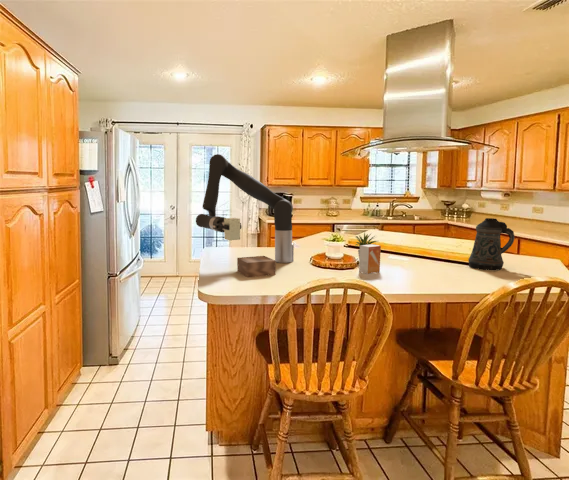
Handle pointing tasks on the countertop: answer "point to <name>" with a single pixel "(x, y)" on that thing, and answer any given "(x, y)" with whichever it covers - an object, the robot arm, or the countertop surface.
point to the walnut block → (256, 266)
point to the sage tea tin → (232, 229)
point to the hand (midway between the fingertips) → (234, 227)
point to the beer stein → (489, 245)
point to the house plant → (364, 242)
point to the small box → (369, 258)
